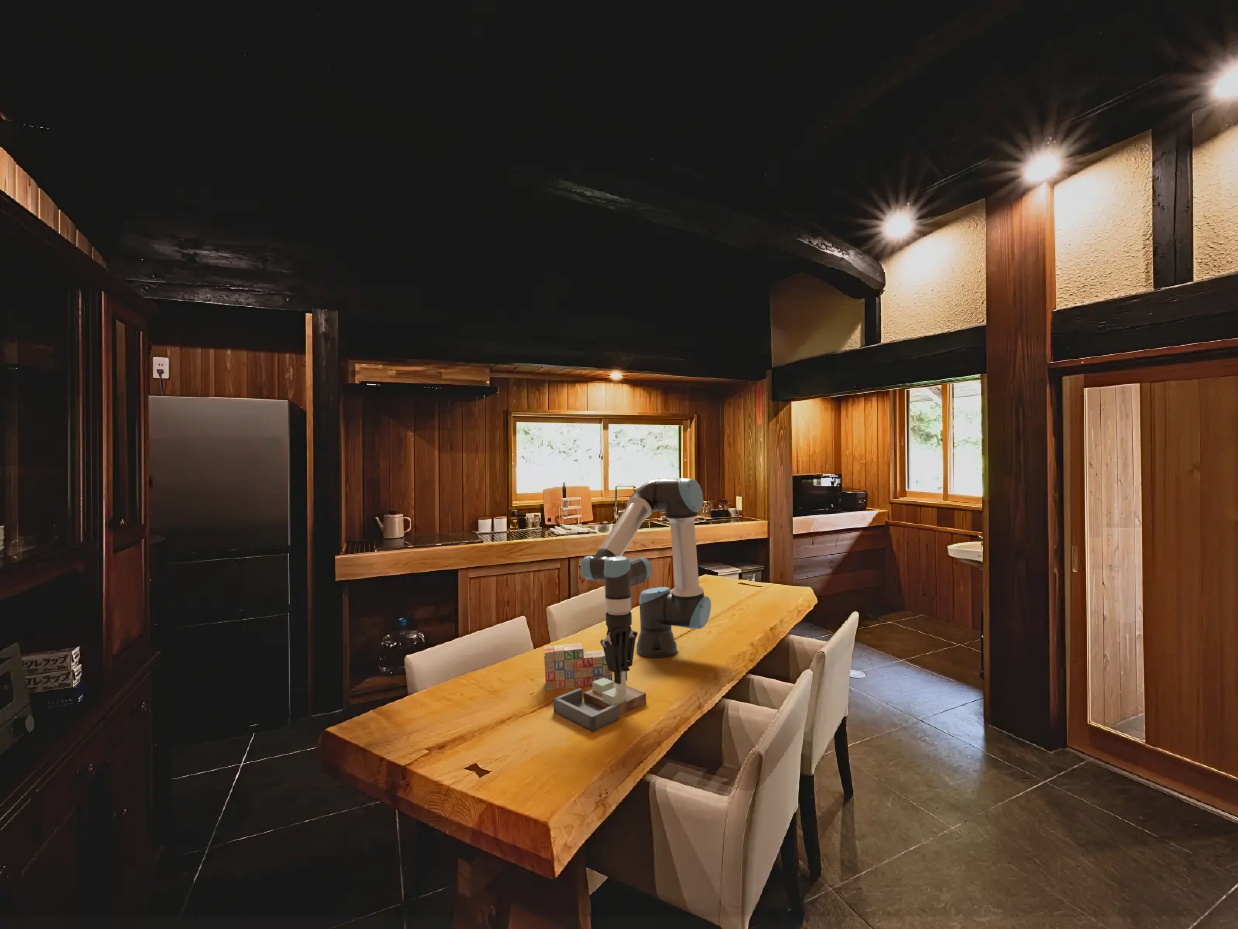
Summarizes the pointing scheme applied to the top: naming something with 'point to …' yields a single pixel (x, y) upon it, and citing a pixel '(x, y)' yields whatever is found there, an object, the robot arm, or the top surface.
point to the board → (631, 702)
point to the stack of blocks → (573, 666)
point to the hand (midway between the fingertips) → (621, 693)
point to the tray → (584, 711)
